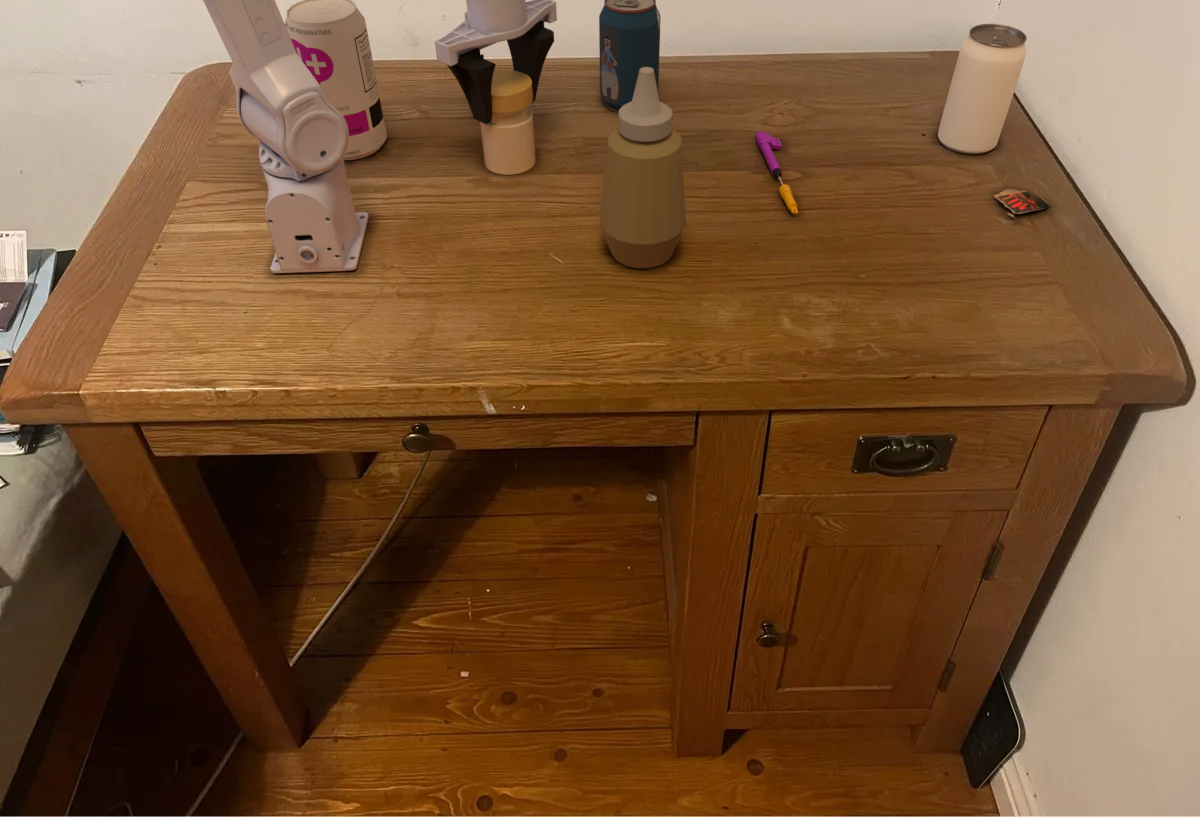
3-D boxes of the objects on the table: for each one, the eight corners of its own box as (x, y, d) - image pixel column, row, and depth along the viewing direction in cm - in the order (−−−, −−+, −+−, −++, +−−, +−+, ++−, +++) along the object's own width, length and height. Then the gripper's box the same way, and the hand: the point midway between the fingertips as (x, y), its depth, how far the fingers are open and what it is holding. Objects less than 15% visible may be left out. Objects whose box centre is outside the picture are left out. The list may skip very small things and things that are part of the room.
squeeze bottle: (677, 282, 84) (689, 96, 72) (592, 272, 85) (588, 88, 73) (689, 233, 90) (701, 53, 77) (608, 224, 91) (607, 46, 78)
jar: (535, 174, 98) (531, 113, 93) (483, 176, 98) (476, 114, 93) (535, 148, 102) (531, 88, 97) (485, 150, 102) (478, 90, 97)
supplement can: (348, 170, 99) (317, 32, 89) (299, 148, 103) (263, 13, 92) (403, 141, 104) (379, 6, 93) (353, 120, 107) (325, -12, 97)
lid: (477, 87, 97) (475, 70, 96) (533, 85, 97) (532, 68, 96) (474, 114, 93) (472, 96, 92) (533, 112, 93) (531, 94, 92)
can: (990, 128, 104) (1023, 22, 96) (1002, 157, 100) (1038, 48, 91) (932, 126, 105) (960, 20, 96) (941, 154, 100) (971, 46, 92)
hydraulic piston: (752, 137, 103) (787, 217, 92) (756, 128, 102) (792, 207, 91) (774, 141, 103) (812, 220, 92) (778, 132, 103) (816, 210, 91)
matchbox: (1053, 206, 92) (1055, 202, 92) (1019, 222, 90) (1021, 218, 90) (1015, 186, 95) (1017, 182, 95) (982, 201, 93) (983, 197, 93)
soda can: (662, 92, 112) (666, -9, 103) (651, 119, 107) (654, 15, 98) (607, 87, 113) (607, -14, 104) (593, 112, 108) (592, 9, 100)
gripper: (519, -56, 92) (527, 75, 102) (406, -16, 84) (427, 121, 94) (569, -40, 89) (573, 94, 98) (457, 3, 81) (473, 144, 91)
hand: (505, 109), depth 96 cm, fingers closed on lid, 6 cm apart
